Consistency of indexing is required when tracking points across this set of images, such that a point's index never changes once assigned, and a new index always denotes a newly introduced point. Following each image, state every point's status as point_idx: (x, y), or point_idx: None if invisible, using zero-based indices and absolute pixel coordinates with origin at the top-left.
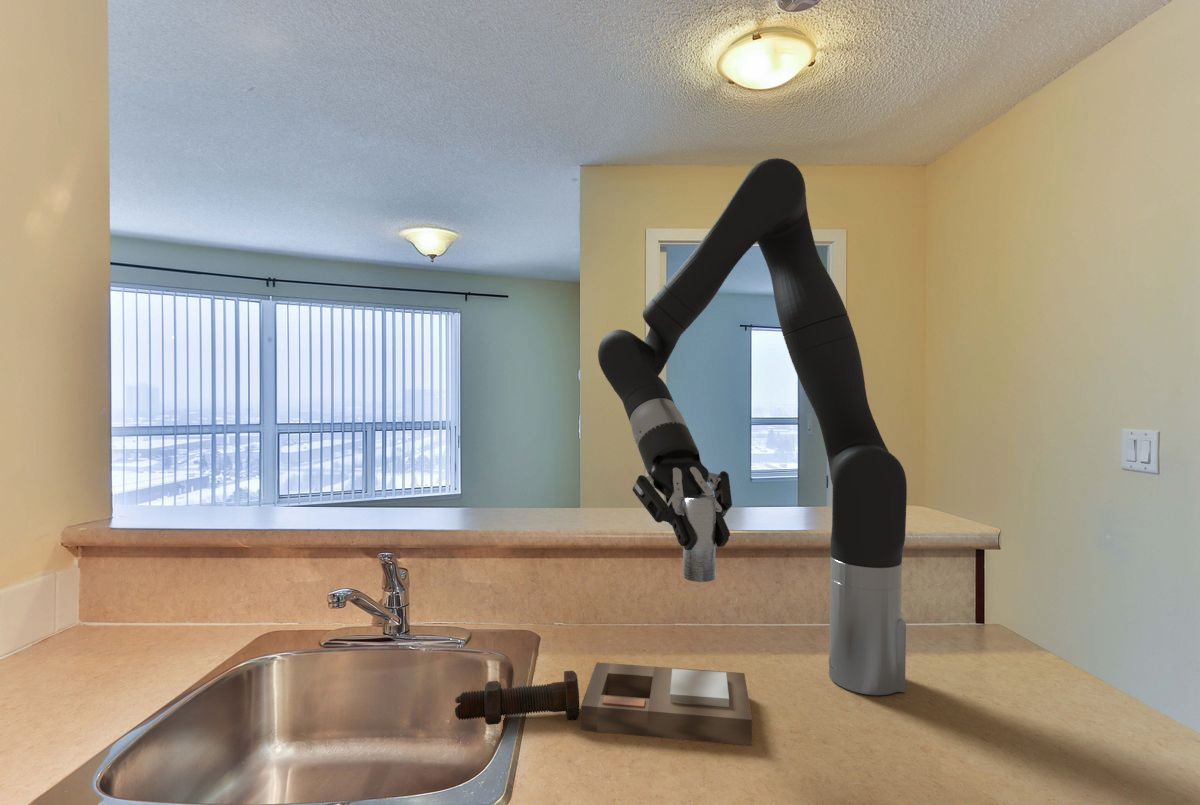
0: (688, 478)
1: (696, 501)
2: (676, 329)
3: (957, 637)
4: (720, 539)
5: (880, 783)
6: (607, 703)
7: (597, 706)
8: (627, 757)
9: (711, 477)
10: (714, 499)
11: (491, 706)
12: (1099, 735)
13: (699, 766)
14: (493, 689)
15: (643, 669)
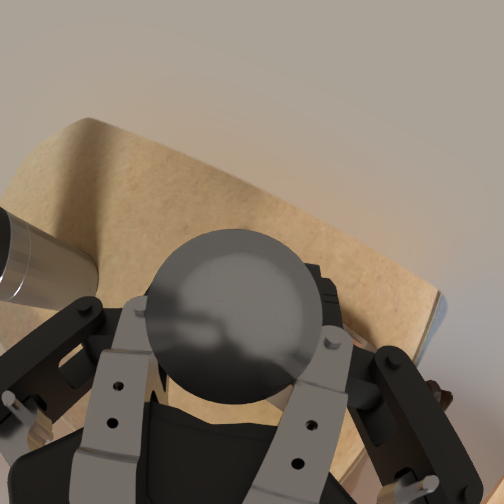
0: (162, 499)
1: (300, 259)
2: None
3: None
4: None
5: (199, 173)
6: (357, 341)
7: (367, 343)
8: (354, 292)
9: (21, 443)
10: (195, 238)
11: (435, 384)
12: (53, 159)
13: (308, 252)
14: (437, 393)
15: (277, 395)
